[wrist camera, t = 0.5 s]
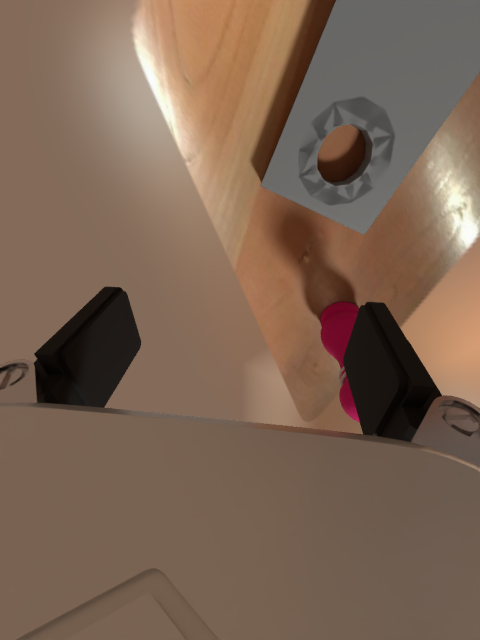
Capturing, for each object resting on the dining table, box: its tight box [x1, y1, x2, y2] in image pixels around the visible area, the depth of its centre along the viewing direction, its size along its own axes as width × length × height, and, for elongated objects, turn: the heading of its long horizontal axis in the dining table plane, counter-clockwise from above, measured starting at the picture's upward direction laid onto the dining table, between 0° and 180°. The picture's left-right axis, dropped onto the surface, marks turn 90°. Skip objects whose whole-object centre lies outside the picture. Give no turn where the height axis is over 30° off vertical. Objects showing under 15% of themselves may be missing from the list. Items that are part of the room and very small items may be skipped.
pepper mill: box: [320, 302, 360, 422], centre depth 35 cm, size 7×7×20 cm
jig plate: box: [261, 0, 480, 235], centre depth 26 cm, size 22×14×2 cm, turn 158°
